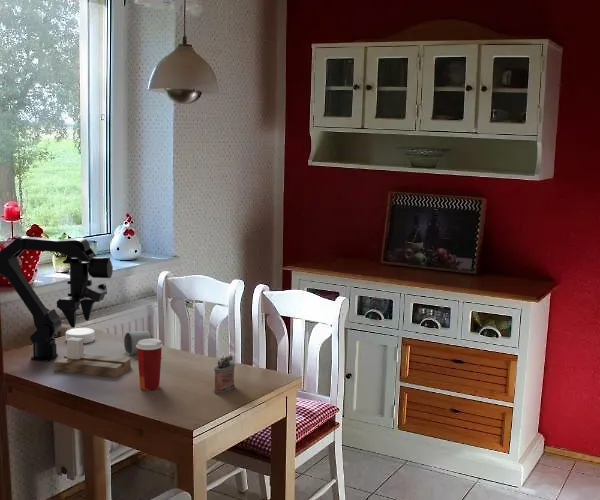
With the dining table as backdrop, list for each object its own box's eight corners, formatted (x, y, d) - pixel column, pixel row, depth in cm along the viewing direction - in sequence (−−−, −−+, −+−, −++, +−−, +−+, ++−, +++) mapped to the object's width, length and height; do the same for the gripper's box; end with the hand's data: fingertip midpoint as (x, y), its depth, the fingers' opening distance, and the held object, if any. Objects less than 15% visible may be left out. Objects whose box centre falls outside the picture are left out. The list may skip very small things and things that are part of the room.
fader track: (54, 370, 234) (54, 361, 233) (70, 361, 243) (70, 351, 243) (116, 377, 229) (116, 367, 229) (130, 367, 239) (130, 357, 238)
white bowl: (60, 343, 263) (60, 333, 263) (73, 335, 273) (73, 326, 272) (87, 345, 262) (87, 335, 261) (99, 337, 271) (99, 328, 271)
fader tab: (67, 362, 236) (66, 339, 235) (72, 359, 239) (71, 337, 238) (78, 363, 235) (78, 340, 234) (83, 361, 238) (83, 338, 237)
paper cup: (167, 384, 224) (167, 339, 222) (154, 393, 217) (154, 346, 215) (144, 381, 227) (144, 336, 224) (131, 389, 219) (130, 343, 217)
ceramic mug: (155, 353, 254) (154, 331, 253) (132, 357, 249) (132, 335, 248) (141, 346, 263) (141, 325, 261) (119, 349, 258) (119, 328, 257)
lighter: (220, 395, 217) (220, 362, 215) (211, 392, 219) (211, 359, 217) (237, 387, 224) (237, 355, 222) (228, 385, 225) (228, 353, 224)
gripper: (88, 284, 231) (88, 333, 233) (115, 273, 249) (115, 318, 251) (55, 282, 233) (56, 330, 235) (84, 271, 251) (85, 316, 253)
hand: (80, 323), depth 244 cm, fingers open, 9 cm apart
